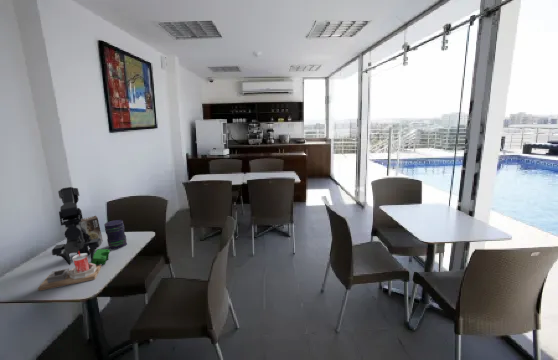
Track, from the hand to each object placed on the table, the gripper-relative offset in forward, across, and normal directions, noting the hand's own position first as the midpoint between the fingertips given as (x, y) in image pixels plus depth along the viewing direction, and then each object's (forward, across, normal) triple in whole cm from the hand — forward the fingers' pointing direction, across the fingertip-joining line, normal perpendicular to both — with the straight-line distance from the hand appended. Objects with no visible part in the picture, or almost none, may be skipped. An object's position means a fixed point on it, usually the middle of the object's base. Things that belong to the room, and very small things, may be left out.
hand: (81, 262), depth 133 cm
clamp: (+8, +5, +12) cm, 15 cm away
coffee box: (+8, -7, +45) cm, 46 cm away
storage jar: (+7, +9, +32) cm, 34 cm away
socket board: (+7, -5, 0) cm, 9 cm away
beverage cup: (+6, 0, 0) cm, 6 cm away
